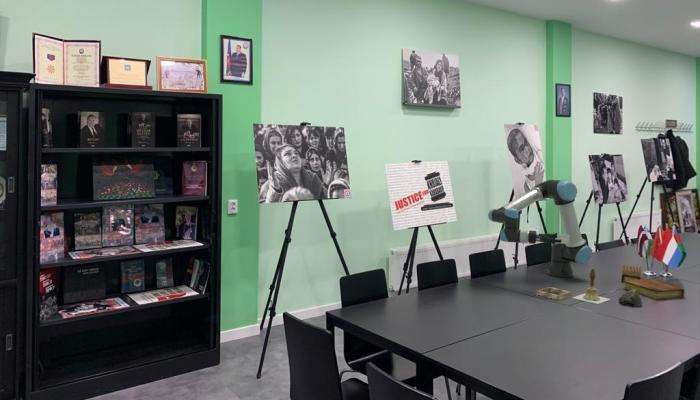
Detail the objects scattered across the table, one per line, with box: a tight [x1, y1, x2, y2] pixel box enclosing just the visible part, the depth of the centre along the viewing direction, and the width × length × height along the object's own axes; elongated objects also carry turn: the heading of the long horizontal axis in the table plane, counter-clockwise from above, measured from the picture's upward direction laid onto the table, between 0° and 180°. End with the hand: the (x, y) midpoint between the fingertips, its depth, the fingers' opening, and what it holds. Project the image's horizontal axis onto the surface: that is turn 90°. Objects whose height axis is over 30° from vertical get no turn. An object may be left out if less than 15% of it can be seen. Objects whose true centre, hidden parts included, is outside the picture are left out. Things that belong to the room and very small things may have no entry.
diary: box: [622, 278, 686, 301], centre depth 284 cm, size 23×19×6 cm
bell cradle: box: [535, 286, 573, 301], centre depth 278 cm, size 13×13×2 cm
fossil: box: [618, 289, 643, 308], centre depth 263 cm, size 11×9×10 cm
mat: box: [572, 293, 612, 305], centre depth 271 cm, size 14×14×1 cm
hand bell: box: [583, 268, 600, 300], centre depth 271 cm, size 8×8×16 cm
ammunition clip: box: [620, 262, 642, 284], centre depth 305 cm, size 11×2×12 cm, turn 45°
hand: (568, 239), depth 281 cm, fingers open, 13 cm apart
